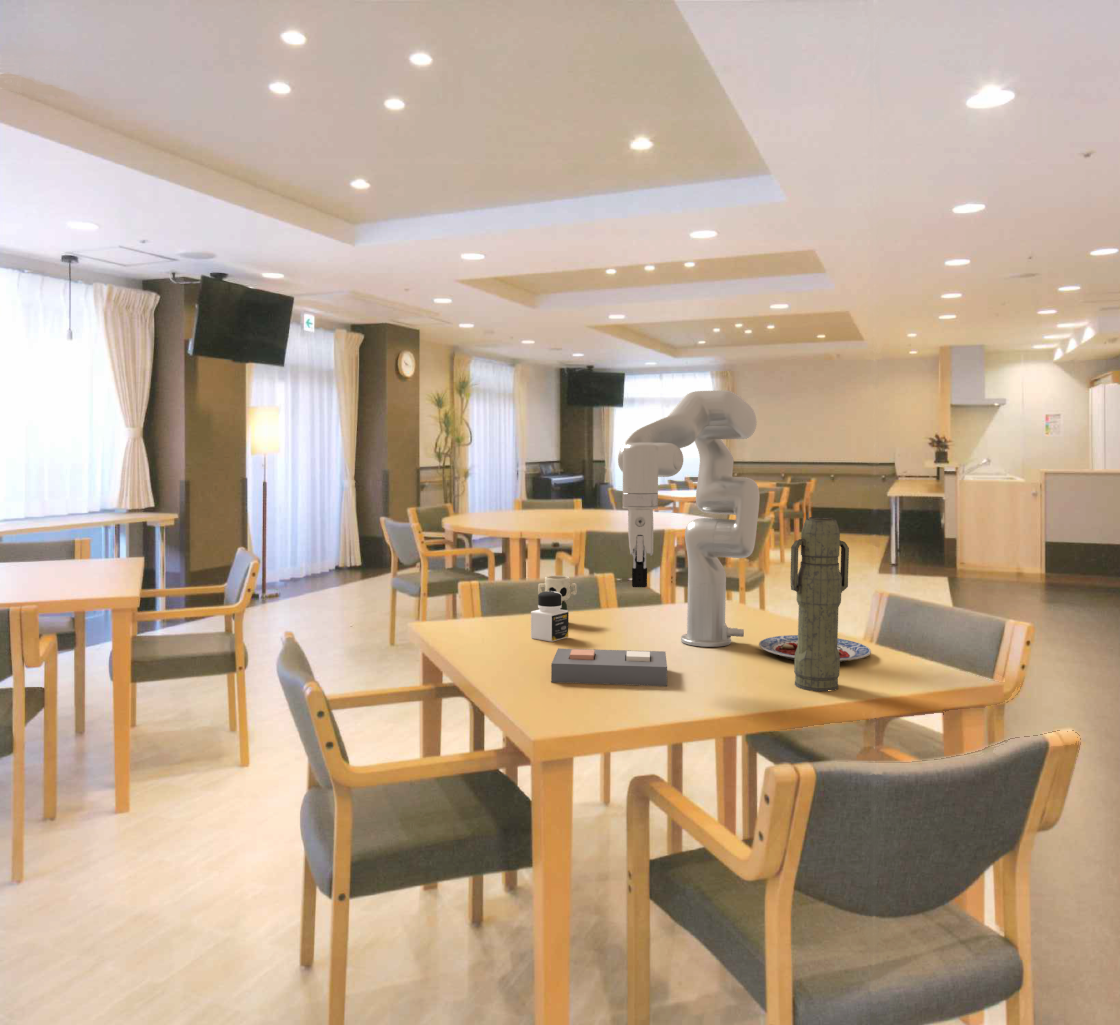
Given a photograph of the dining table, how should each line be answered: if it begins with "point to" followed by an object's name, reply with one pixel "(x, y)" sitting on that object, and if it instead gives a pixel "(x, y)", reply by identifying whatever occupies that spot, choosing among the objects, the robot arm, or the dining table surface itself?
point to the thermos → (818, 602)
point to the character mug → (559, 587)
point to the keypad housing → (609, 668)
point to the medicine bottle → (549, 618)
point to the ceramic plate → (789, 644)
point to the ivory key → (638, 656)
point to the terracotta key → (582, 654)
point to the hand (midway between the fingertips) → (639, 586)
